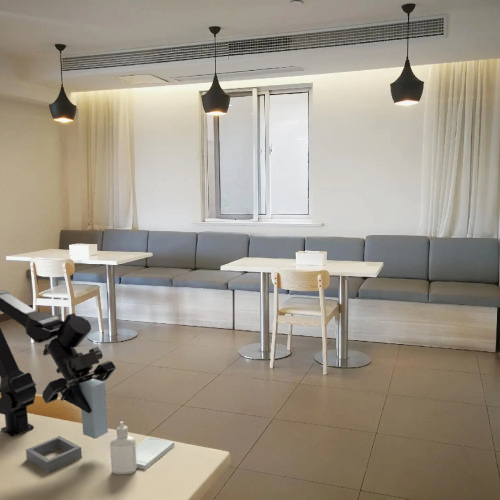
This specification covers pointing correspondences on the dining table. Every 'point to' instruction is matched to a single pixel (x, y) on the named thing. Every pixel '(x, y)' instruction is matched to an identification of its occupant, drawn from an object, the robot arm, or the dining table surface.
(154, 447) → the hard drive
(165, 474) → the dining table surface
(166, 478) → the dining table surface
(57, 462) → the frame
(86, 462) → the dining table surface
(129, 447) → the eye dropper bottle
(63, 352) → the robot arm
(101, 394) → the block
